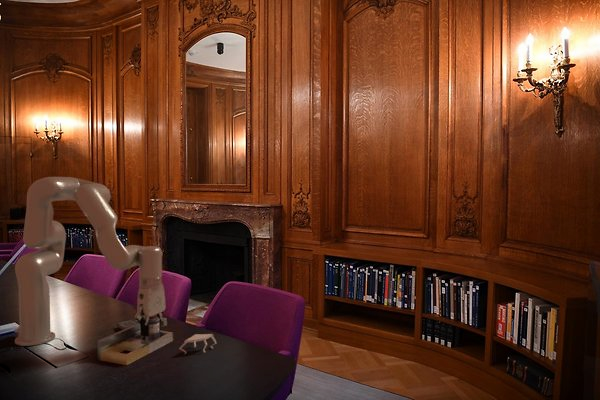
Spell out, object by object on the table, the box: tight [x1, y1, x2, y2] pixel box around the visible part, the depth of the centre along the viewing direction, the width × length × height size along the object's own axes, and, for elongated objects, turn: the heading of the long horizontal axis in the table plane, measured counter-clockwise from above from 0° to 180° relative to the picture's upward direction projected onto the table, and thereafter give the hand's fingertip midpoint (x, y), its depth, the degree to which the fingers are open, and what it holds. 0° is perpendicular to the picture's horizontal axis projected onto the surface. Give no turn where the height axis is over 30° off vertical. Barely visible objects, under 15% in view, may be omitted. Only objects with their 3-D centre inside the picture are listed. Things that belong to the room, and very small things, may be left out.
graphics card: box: [116, 317, 168, 330], centre depth 181 cm, size 17×4×12 cm
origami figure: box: [179, 333, 217, 355], centre depth 155 cm, size 12×8×5 cm
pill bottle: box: [142, 314, 161, 341], centre depth 162 cm, size 6×6×11 cm
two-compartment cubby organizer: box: [97, 323, 174, 366], centre depth 156 cm, size 12×24×6 cm, turn 160°
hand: (151, 332), depth 162 cm, fingers closed on pill bottle, 6 cm apart
